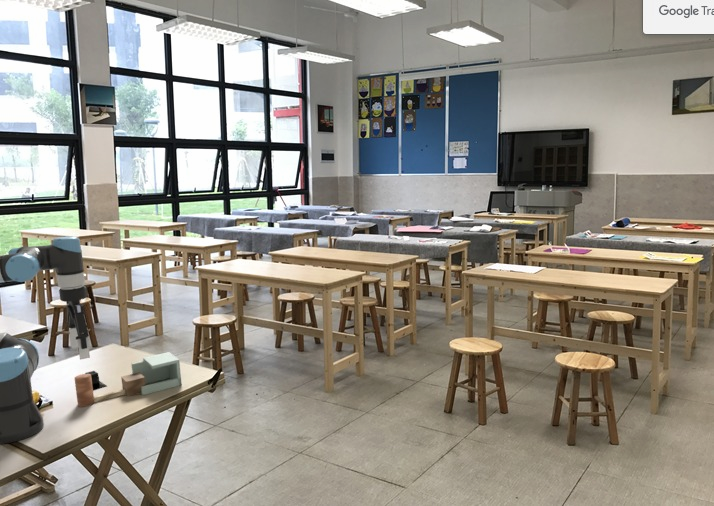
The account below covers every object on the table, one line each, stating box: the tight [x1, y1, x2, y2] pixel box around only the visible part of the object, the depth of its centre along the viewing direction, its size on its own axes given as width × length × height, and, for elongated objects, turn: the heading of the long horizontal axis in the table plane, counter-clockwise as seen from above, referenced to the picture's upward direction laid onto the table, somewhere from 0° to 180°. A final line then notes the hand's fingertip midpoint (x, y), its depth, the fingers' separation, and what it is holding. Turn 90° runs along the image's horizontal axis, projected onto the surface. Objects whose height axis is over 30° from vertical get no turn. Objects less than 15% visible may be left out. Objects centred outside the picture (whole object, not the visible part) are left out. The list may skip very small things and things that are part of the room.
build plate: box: [84, 370, 108, 392], centre depth 206 cm, size 13×8×5 cm, turn 43°
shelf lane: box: [130, 351, 182, 396], centre depth 203 cm, size 13×10×9 cm
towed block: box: [74, 372, 147, 407], centre depth 195 cm, size 20×6×9 cm, turn 125°
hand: (80, 352), depth 188 cm, fingers open, 13 cm apart
